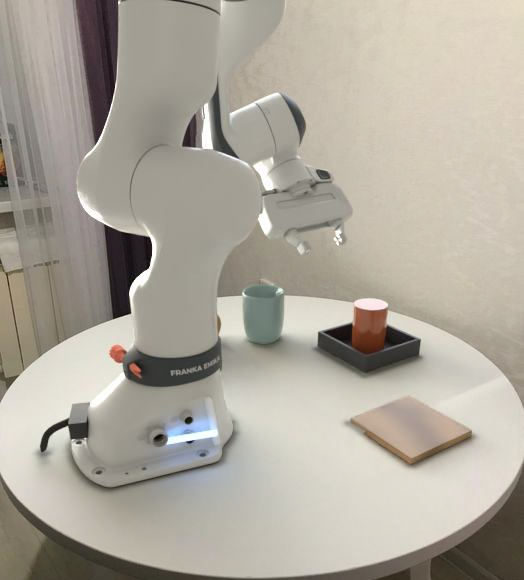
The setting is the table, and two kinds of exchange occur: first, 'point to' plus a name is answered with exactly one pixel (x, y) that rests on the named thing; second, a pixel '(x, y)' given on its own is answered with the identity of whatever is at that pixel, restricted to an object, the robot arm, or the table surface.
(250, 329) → the cup
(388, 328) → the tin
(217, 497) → the table surface
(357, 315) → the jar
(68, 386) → the table surface
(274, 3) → the robot arm
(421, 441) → the board
